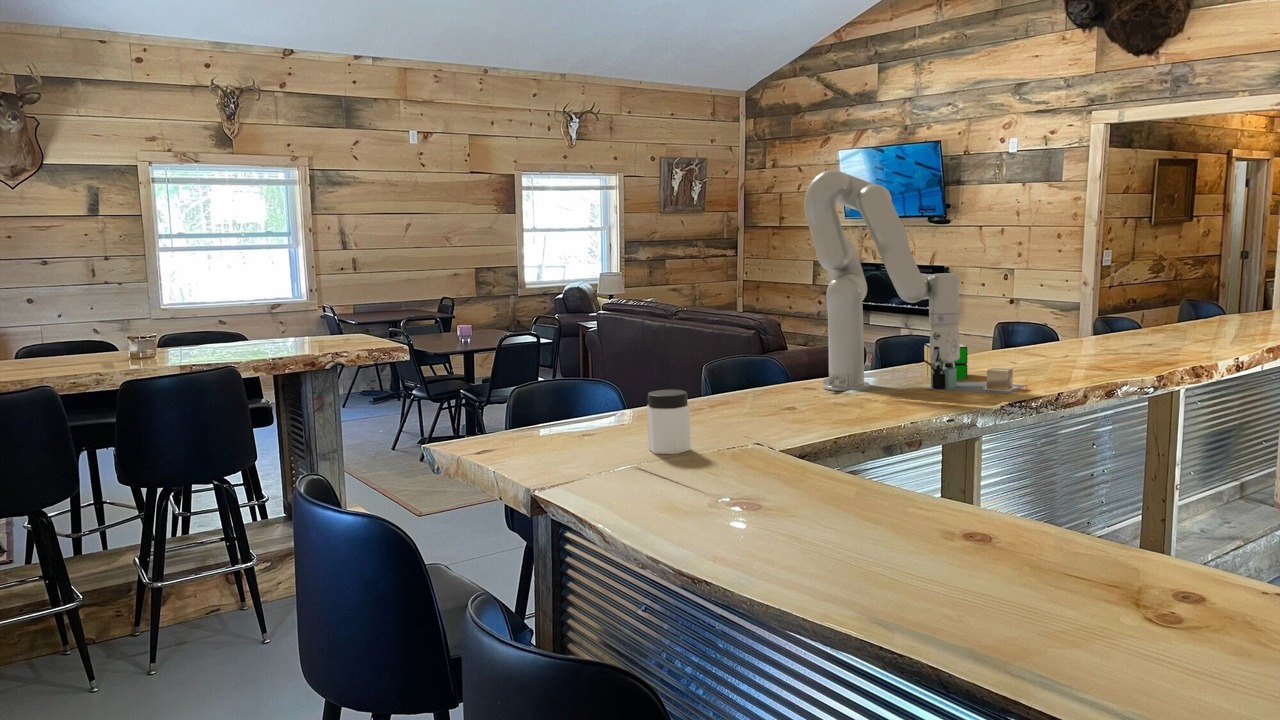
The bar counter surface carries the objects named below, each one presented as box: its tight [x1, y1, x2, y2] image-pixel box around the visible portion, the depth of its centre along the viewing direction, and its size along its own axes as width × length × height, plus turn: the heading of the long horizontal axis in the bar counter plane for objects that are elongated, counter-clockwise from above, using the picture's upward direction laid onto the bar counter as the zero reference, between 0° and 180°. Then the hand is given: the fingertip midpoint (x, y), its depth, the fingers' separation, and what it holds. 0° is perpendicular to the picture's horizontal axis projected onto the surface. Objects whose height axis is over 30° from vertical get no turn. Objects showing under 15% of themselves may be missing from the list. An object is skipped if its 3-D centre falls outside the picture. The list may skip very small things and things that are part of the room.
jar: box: [646, 389, 692, 455], centre depth 190 cm, size 9×8×12 cm
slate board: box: [926, 380, 1028, 396], centre depth 247 cm, size 16×21×1 cm
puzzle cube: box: [923, 343, 968, 380], centre depth 266 cm, size 10×10×10 cm
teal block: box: [930, 367, 957, 389], centre depth 248 cm, size 5×5×5 cm
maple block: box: [986, 367, 1014, 390], centre depth 242 cm, size 5×5×5 cm
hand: (943, 386), depth 248 cm, fingers open, 5 cm apart
